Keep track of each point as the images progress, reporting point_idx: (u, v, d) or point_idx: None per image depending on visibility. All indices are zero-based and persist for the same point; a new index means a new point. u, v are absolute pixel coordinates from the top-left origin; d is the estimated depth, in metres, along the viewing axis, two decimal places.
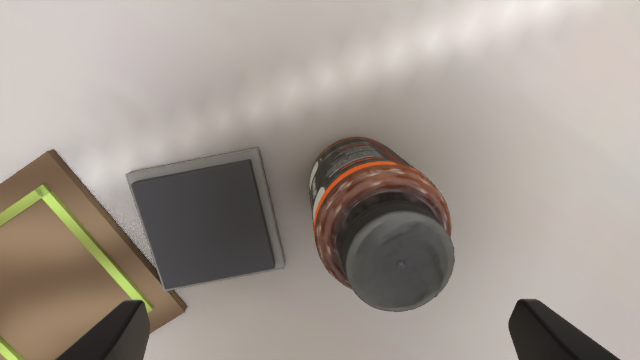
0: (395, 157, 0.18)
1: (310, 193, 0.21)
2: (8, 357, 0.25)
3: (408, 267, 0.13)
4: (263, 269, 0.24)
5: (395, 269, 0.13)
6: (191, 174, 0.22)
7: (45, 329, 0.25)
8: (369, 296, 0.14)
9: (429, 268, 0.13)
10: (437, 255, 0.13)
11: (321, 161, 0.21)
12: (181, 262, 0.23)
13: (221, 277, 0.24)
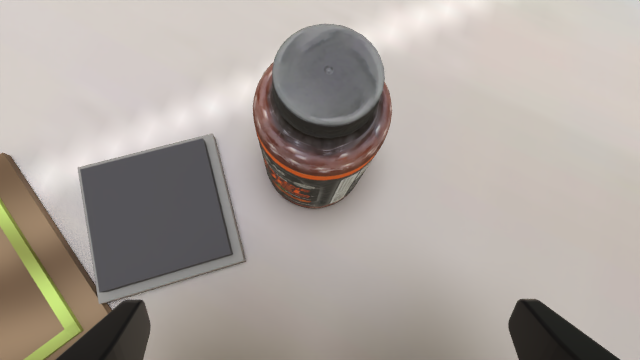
0: None
1: None
2: None
3: (337, 72, 0.13)
4: (218, 256, 0.21)
5: (323, 75, 0.13)
6: (144, 154, 0.22)
7: None
8: (300, 106, 0.13)
9: (359, 73, 0.13)
10: (364, 60, 0.13)
11: None
12: (123, 254, 0.20)
13: (168, 270, 0.20)
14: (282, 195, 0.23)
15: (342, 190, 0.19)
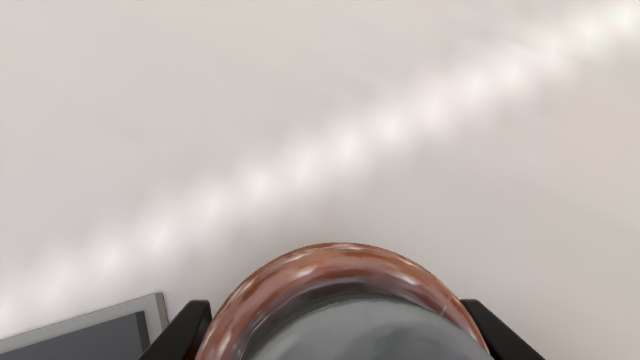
0: None
1: None
2: None
3: None
4: None
5: None
6: (34, 346, 0.13)
7: None
8: None
9: None
10: None
11: None
12: None
13: None
14: None
15: None
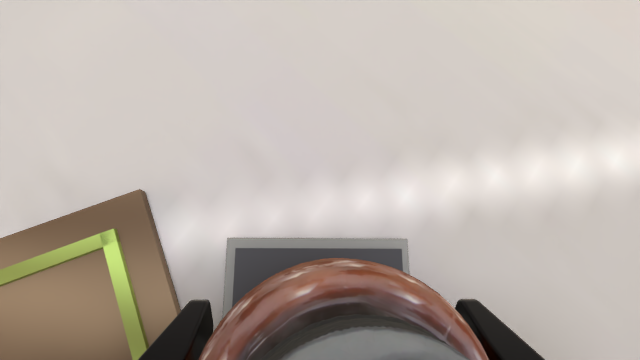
0: None
1: None
2: None
3: None
4: None
5: None
6: (321, 250, 0.16)
7: None
8: None
9: None
10: None
11: None
12: None
13: None
14: None
15: None
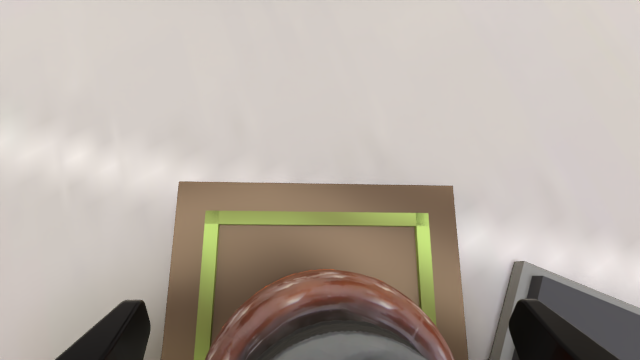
0: None
1: None
2: None
3: None
4: None
5: None
6: (621, 310, 0.16)
7: None
8: None
9: None
10: None
11: None
12: None
13: None
14: None
15: None
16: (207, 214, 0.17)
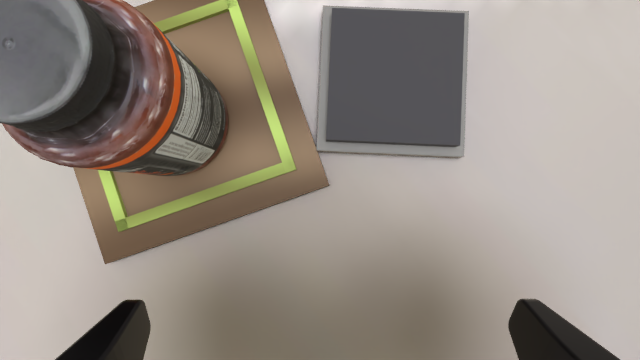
0: None
1: None
2: (107, 187, 0.20)
3: (21, 42, 0.10)
4: (446, 143, 0.20)
5: (5, 54, 0.10)
6: (399, 12, 0.20)
7: None
8: None
9: (49, 32, 0.10)
10: (49, 10, 0.10)
11: None
12: (355, 110, 0.20)
13: (395, 140, 0.20)
14: None
15: (189, 152, 0.17)
16: None
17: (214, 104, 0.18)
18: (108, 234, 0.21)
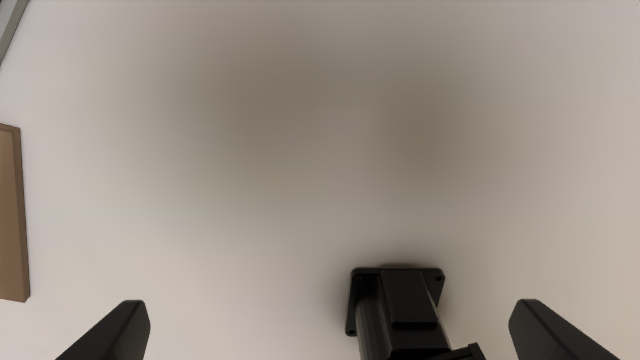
0: None
1: None
2: None
3: None
4: None
5: None
6: None
7: None
8: None
9: None
10: None
11: None
12: None
13: None
14: None
15: None
16: None
17: None
18: None
